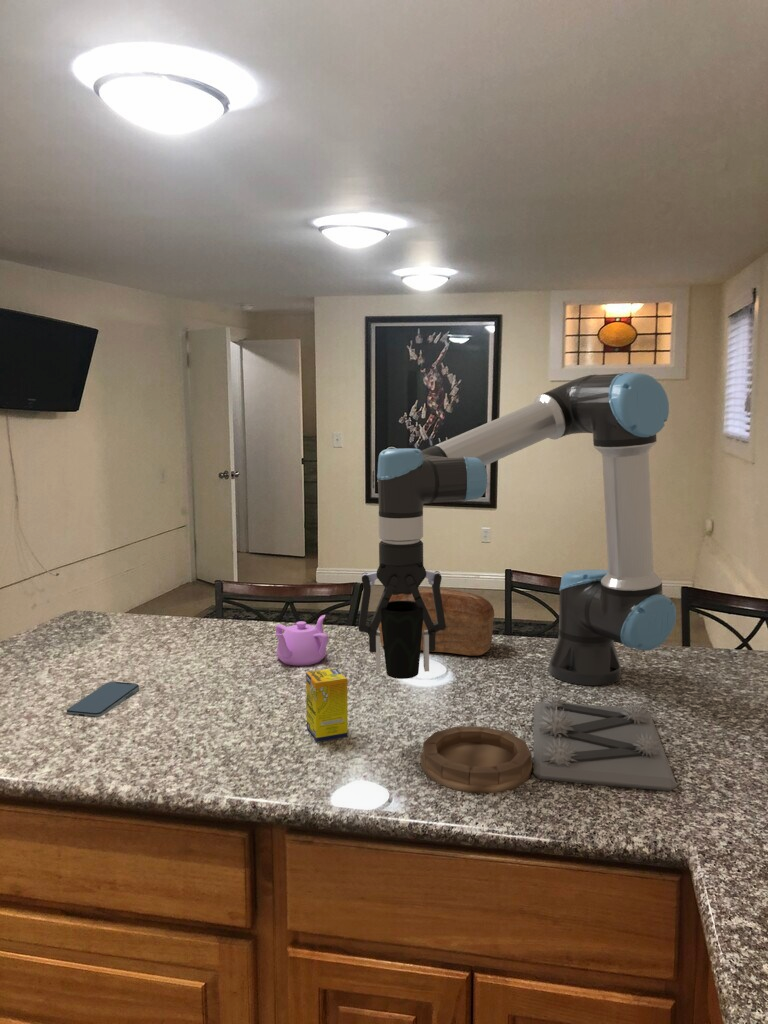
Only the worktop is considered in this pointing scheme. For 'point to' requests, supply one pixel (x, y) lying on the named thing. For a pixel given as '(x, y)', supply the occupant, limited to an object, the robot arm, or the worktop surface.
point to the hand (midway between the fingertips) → (402, 669)
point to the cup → (402, 638)
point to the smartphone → (103, 699)
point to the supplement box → (326, 704)
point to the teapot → (301, 643)
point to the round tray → (476, 759)
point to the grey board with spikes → (599, 746)
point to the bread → (457, 621)
